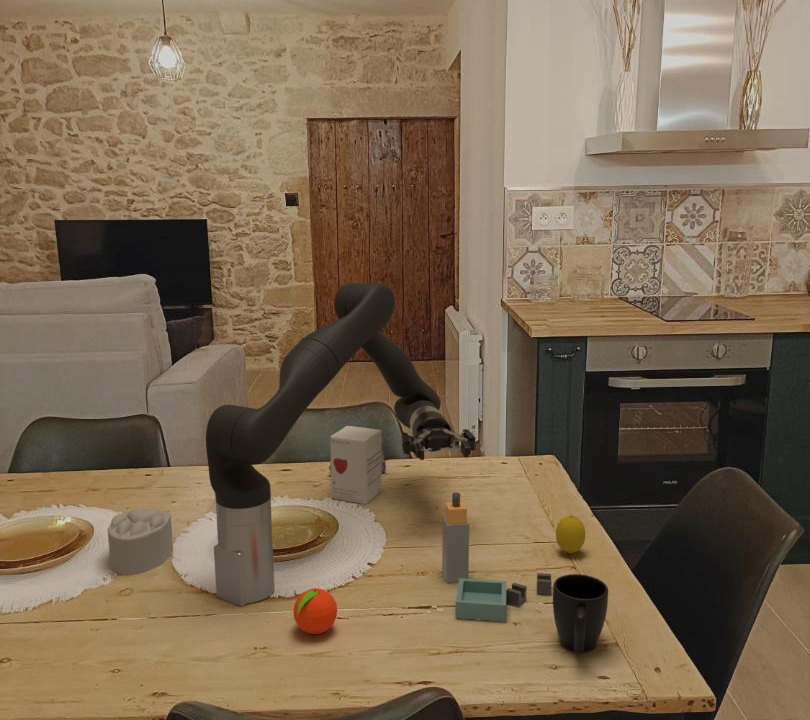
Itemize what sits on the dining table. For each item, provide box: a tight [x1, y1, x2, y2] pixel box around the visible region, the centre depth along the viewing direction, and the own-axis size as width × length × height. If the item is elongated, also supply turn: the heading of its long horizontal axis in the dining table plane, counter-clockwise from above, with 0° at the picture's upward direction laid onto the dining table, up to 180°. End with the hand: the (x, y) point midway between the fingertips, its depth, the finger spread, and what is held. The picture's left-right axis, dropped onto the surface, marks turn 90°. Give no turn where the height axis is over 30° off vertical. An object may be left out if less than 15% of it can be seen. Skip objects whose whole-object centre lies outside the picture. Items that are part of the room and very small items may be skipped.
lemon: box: [555, 514, 586, 555], centre depth 154 cm, size 6×6×8 cm
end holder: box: [455, 578, 508, 623], centre depth 135 cm, size 8×8×3 cm
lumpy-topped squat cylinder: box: [107, 508, 174, 576], centre depth 152 cm, size 10×13×9 cm
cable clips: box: [506, 572, 552, 608], centre depth 138 cm, size 9×5×2 cm, turn 147°
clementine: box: [293, 587, 338, 635], centre depth 127 cm, size 8×7×7 cm
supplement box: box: [330, 425, 383, 505], centre depth 182 cm, size 9×9×15 cm
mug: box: [552, 573, 609, 654], centre depth 122 cm, size 8×12×10 cm
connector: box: [441, 492, 470, 584], centre depth 144 cm, size 4×4×16 cm
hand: (444, 453), depth 152 cm, fingers open, 8 cm apart
